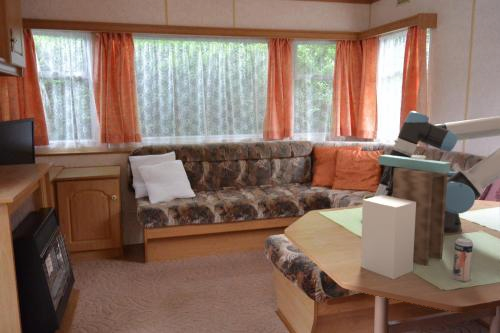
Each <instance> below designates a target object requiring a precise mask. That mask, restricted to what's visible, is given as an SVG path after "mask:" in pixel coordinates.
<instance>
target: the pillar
mask: <svg viewBox="0 0 500 333" xmlns="http://www.w3.org/2000/svg"><path fill="white" fill-rule="evenodd" d="M361 211H362V212H361V214H362V215H361V216H362V217H361V244H360V245H361V247H360V250H361V252H360V254H361V255H360V268H363V269H366V270H368V271H371V272H373V273H375V274H378V275H381V276H384V277H386V278H389V279H392V280H395V279H397V278H400V277H402V276H404V275H407V274H409V273H411V272H413V269H414V268H413V267H414V263H413V254H414V234H415V214H416V202H414V201H409V200H405V199H400V198H395V197H393V196H392V197H390V196H386V195H384V194H383V195H380V196H376V197H372V198H368V199H362V210H361Z"/></svg>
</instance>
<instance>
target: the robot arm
mask: <svg viewBox="0 0 500 333" xmlns="http://www.w3.org/2000/svg"><path fill="white" fill-rule="evenodd" d="M429 119H430V117H429V116H428V115H425V114H423V113H420V112H418V111H415V110H412V111H409V112H408V114H407V115H406V118H405V119H404V121H403V124H402V126H401V128H400V131H399V134H398V136H397V138H396V139H394V145H393V149H392V150H391V152H390V153H389V155H392V156H400V157H408V158H411V155H415V154H414V153H415V151H416V148H417V147H418V144H419V143H422V144H425V145H428V146H431V147H433V148H436V149H438V150H441V151H444V152H446V153H447V152H448V153H449V152H451V151H453V150H454V148H455V146H456V145H457V143H458V142H459V141H467V140H474V139H484V138H491V137H500V115H498V116H490V117H489V116H487V117H481V118H474V119H466V120H460V121H459V120H458V121H452V122H443V123H438V124H433V123H430V121H429ZM394 168H398V167H395V166H388V165H387V167H386V169H385V171H384V173H382V176H381V177H380V179H379V185H378V187H377V189H376V191H375V194H374V195H373V196H374V197H376V196H380V195H386V196H390V197H393V174H394ZM499 179H500V147H499V148H498V149H497V150H495V151H494V152H492V153H490V154H489V155H487V156H485V157H484V158H483V159H482V160H480V161H479V162H478V163H476V164H475V165H473V166H472V167H471V168H469V169H467V170H459V171H451V170H450V172H448V173H447V189H446V205H445V221H444V233H454V232H459V231H461V230H462V222H461V218H460V214H463V213H466V212H468V211H469V210H471V209H472V207H473V206H474V205H475V202H476V200H478V199H479V198H480V197H482V195H483V190H485V189H486V188H488V187H489V186H491V185H492V184H493V183H495V182H496V181H498V180H499Z"/></svg>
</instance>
